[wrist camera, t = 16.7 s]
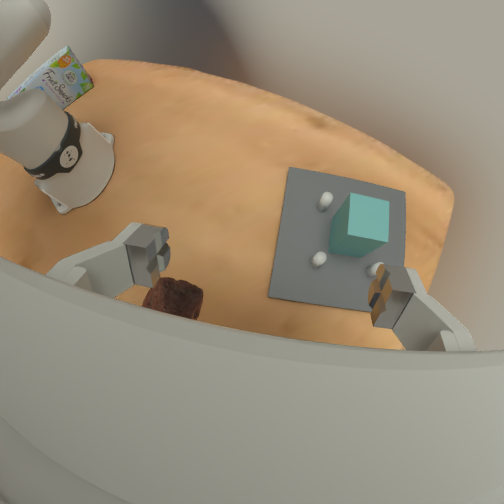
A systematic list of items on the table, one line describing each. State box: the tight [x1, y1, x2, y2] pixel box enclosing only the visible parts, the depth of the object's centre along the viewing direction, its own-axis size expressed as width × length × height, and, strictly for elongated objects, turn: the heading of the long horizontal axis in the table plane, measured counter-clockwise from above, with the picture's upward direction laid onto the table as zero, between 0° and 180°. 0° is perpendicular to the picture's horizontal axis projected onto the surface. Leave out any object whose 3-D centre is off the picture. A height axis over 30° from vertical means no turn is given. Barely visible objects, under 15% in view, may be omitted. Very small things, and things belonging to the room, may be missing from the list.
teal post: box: [328, 193, 389, 258], centre depth 33 cm, size 5×5×10 cm
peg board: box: [268, 167, 406, 312], centre depth 37 cm, size 20×20×6 cm
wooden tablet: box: [142, 277, 203, 320], centre depth 37 cm, size 26×2×10 cm
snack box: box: [7, 45, 94, 110], centre depth 43 cm, size 21×6×15 cm, turn 120°
